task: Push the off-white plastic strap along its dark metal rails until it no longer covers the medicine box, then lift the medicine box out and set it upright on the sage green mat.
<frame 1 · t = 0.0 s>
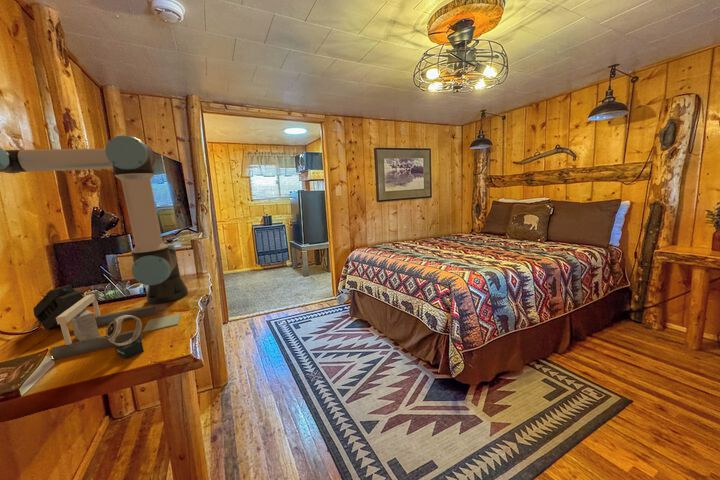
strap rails: (112, 332, 98), on the table
watch: (130, 354, 84), on the table
medicine box: (87, 338, 96), on the table
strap: (82, 315, 95), point 8 cm above the table, slide at 0.0 cm
tool: (65, 326, 106), on the table, touching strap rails
mat: (163, 322, 103), on the table
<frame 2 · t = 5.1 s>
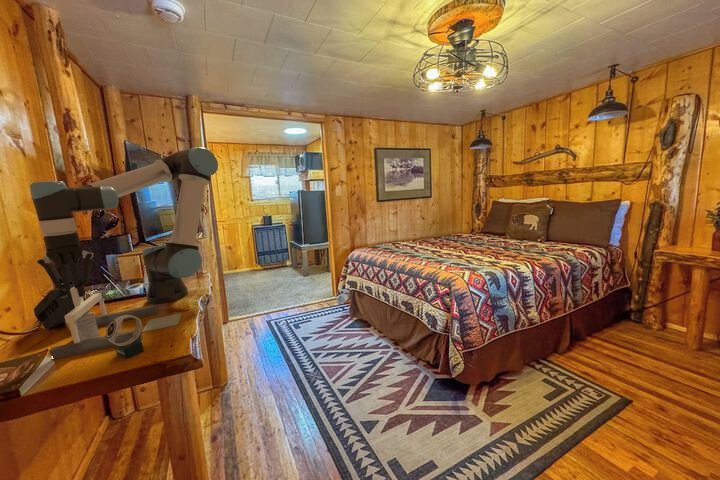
hand: (80, 306, 94), 11 cm above the table, tool pointing down, fingers closed
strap: (89, 314, 95), point 8 cm above the table, slide at 1.8 cm, touching gripper
everything else where it was.
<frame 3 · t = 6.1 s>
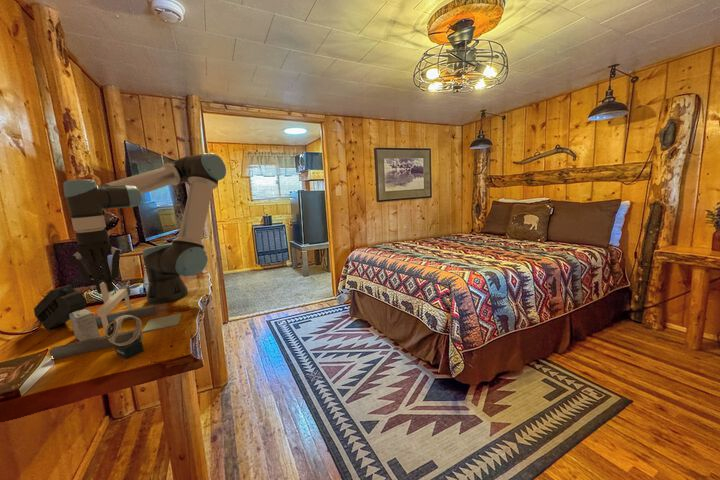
hand: (108, 301, 97), 11 cm above the table, tool pointing down, fingers closed
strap: (117, 308, 98), point 8 cm above the table, slide at 9.1 cm, touching gripper
everything else where it was.
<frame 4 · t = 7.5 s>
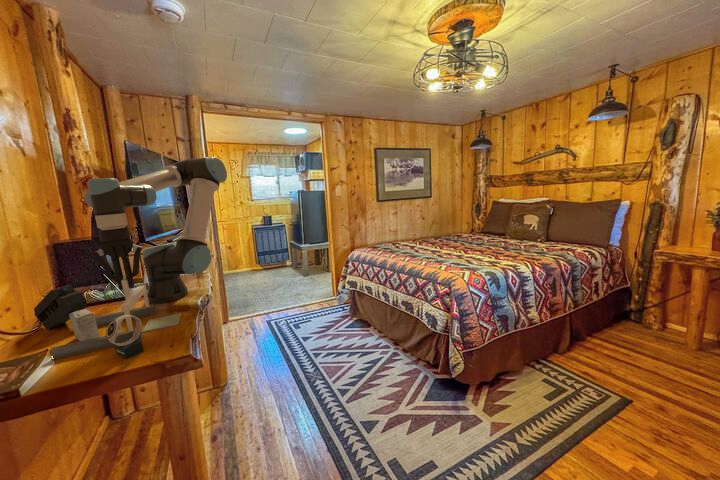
hand: (129, 297, 99), 11 cm above the table, tool pointing down, fingers closed
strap: (137, 304, 100), point 8 cm above the table, slide at 14.7 cm, touching gripper
everything else where it was.
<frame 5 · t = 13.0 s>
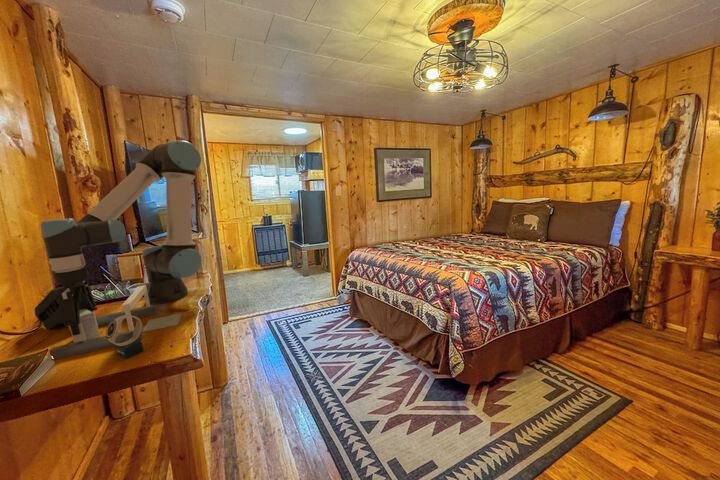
hand: (87, 336, 96), 0 cm above the table, tool pointing down, fingers closed on medicine box, 9 cm apart
medicine box: (87, 338, 96), on the table, touching gripper
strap: (138, 304, 100), point 8 cm above the table, slide at 14.9 cm
everything else where it was.
when the fingers open (2 cm above the table, at t = 20.2 s): medicine box drops 1 cm, resting on mat.
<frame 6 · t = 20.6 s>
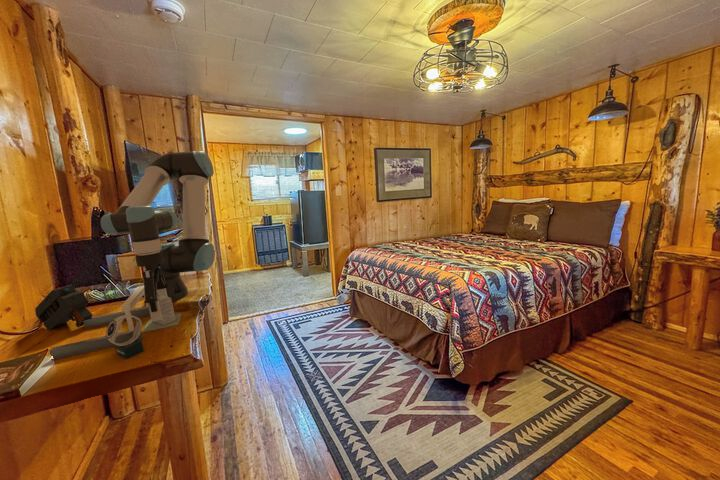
hand: (161, 312, 102), 4 cm above the table, tool pointing down, fingers open, 13 cm apart
medicine box: (163, 321, 103), resting on mat
everything else where it was.
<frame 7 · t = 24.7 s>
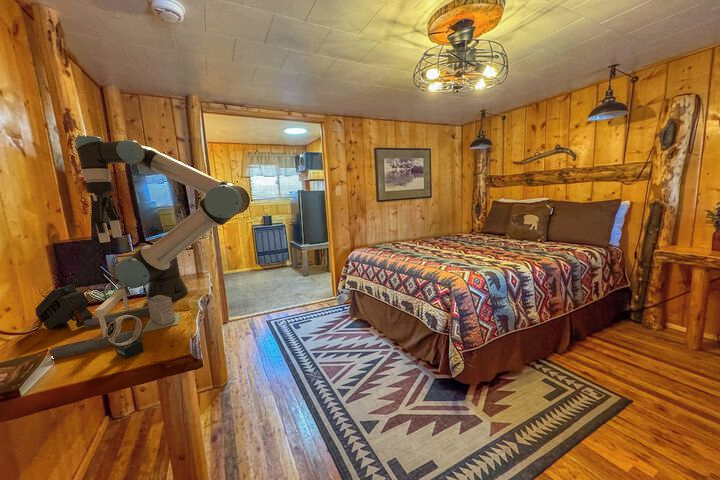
hand: (111, 239, 111), 29 cm above the table, tool pointing down, fingers open, 13 cm apart
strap: (115, 309, 98), point 8 cm above the table, slide at 8.5 cm, touching arm
everything else where it was.
at the end: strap slide at 8.5 cm; medicine box inside the target area on the mat (0.3 cm from its centre), point 0.2 cm above the mat's base; medicine box tilted 0° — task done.
